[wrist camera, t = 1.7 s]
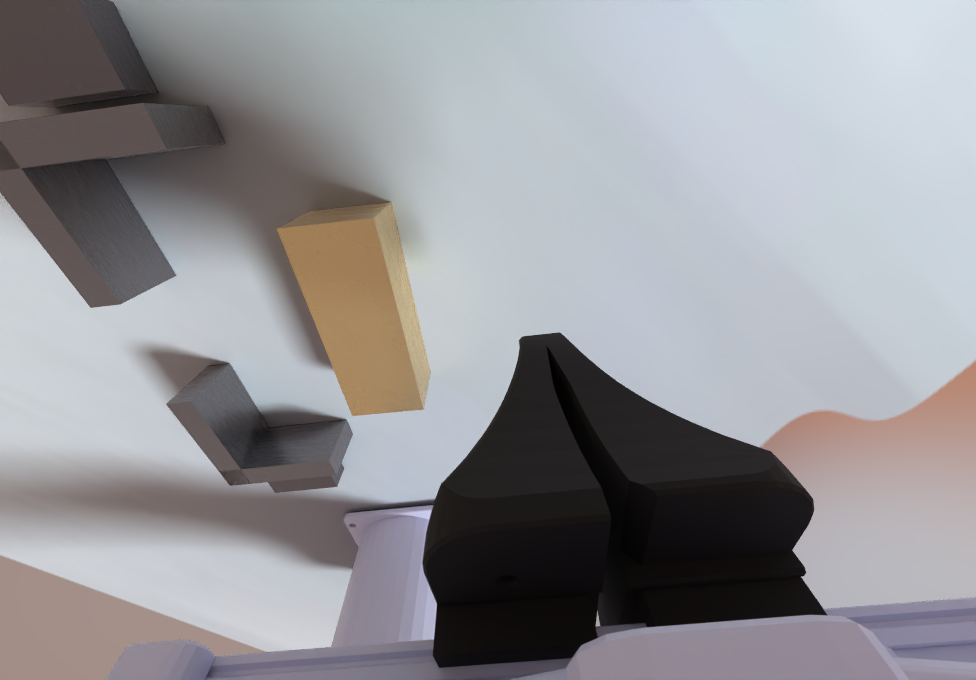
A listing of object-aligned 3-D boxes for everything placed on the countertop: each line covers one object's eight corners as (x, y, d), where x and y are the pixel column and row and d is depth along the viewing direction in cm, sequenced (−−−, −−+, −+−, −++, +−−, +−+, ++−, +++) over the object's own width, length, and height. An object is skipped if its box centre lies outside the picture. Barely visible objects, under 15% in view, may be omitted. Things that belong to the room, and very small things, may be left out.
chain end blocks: (366, 466, 23) (353, 507, 21) (278, 474, 24) (254, 517, 21) (159, -5, 11) (67, -41, 9) (-17, 21, 12) (-155, -6, 9)
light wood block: (431, 370, 20) (423, 409, 17) (369, 375, 20) (352, 415, 17) (392, 200, 15) (373, 218, 12) (312, 209, 15) (276, 228, 13)
